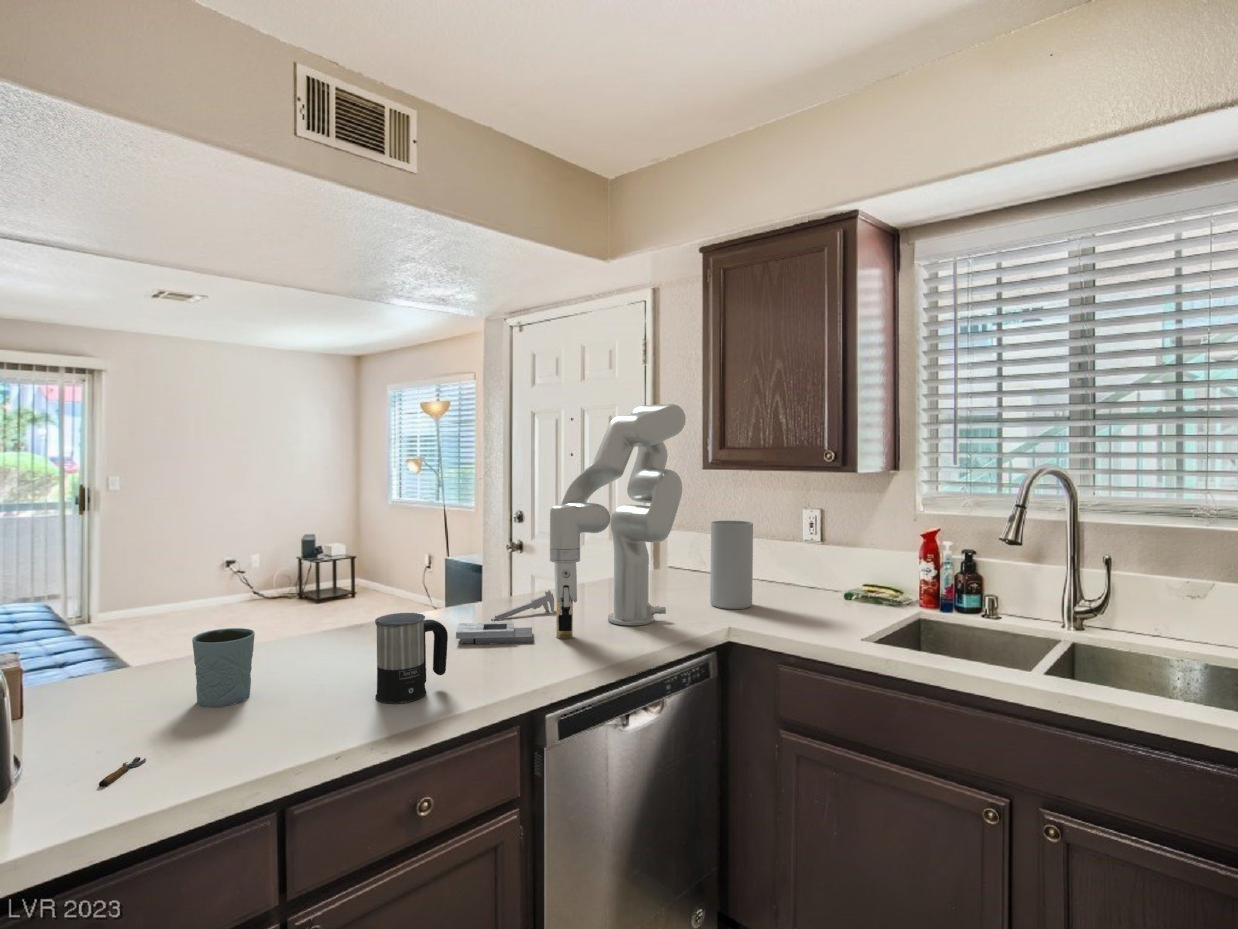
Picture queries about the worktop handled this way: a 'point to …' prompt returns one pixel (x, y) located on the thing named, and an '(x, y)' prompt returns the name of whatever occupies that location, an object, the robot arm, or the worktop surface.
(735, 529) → the cylinder vase
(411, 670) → the milk frother
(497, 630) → the grey socket block
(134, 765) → the can opener
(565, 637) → the pin
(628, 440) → the robot arm
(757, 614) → the worktop surface
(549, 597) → the caliper
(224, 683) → the embossed planter pot
